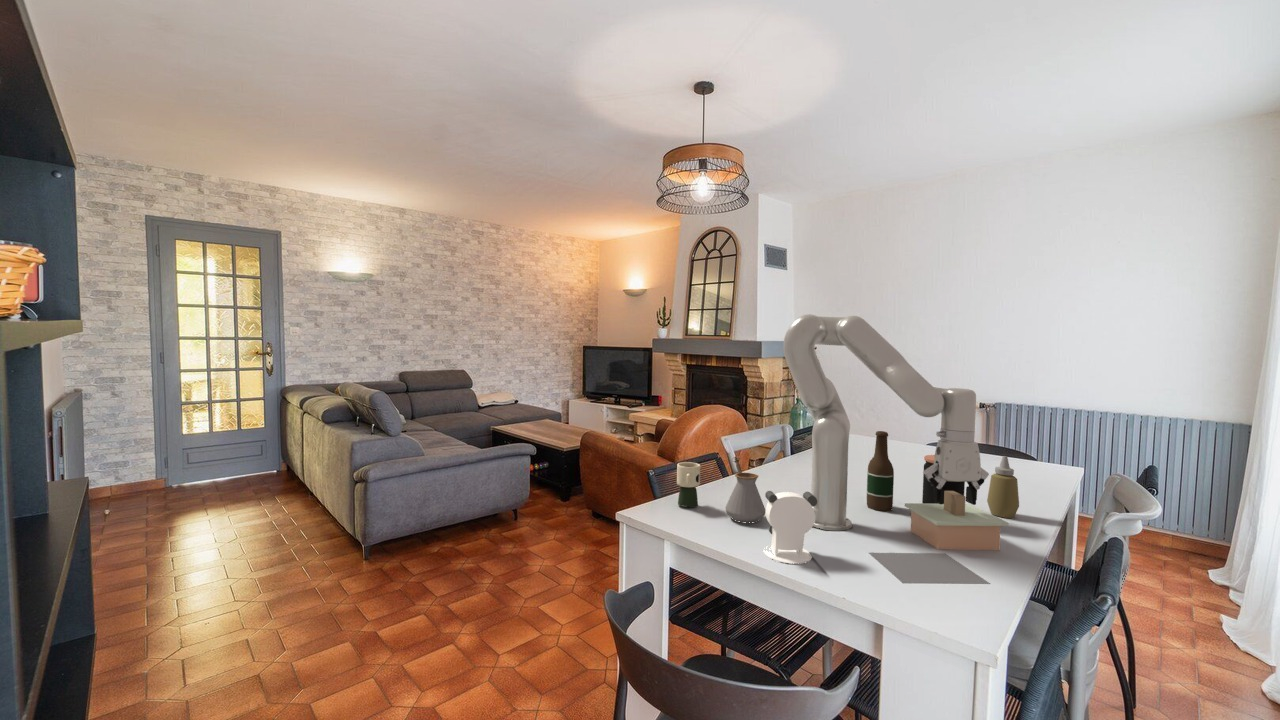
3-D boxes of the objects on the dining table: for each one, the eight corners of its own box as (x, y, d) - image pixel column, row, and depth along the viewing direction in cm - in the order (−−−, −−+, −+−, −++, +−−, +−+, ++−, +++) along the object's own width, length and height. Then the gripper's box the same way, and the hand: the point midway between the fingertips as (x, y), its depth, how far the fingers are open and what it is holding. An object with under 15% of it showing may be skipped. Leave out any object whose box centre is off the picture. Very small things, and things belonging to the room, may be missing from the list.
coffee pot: (770, 526, 147) (771, 473, 147) (729, 526, 147) (730, 472, 146) (751, 502, 168) (753, 456, 168) (716, 502, 168) (717, 455, 168)
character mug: (699, 512, 158) (700, 469, 157) (675, 511, 159) (676, 468, 158) (699, 501, 169) (700, 461, 168) (676, 500, 169) (677, 460, 169)
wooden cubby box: (937, 551, 131) (938, 523, 131) (910, 532, 144) (911, 507, 144) (999, 551, 132) (1000, 524, 132) (966, 533, 144) (967, 508, 144)
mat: (902, 585, 112) (902, 582, 112) (868, 555, 128) (868, 552, 128) (990, 586, 113) (990, 583, 113) (945, 555, 129) (945, 553, 129)
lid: (936, 525, 130) (937, 502, 130) (904, 506, 145) (905, 485, 145) (1008, 526, 130) (1009, 502, 130) (969, 506, 145) (969, 485, 145)
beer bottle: (861, 504, 169) (863, 429, 168) (884, 503, 170) (887, 429, 169) (873, 511, 162) (876, 433, 161) (898, 511, 162) (901, 434, 161)
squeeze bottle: (987, 509, 166) (989, 452, 166) (1018, 514, 161) (1021, 456, 161) (985, 515, 160) (988, 456, 159) (1018, 521, 155) (1021, 460, 154)
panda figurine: (805, 545, 134) (807, 487, 133) (821, 564, 122) (823, 500, 122) (758, 545, 133) (759, 486, 133) (770, 564, 122) (772, 500, 121)
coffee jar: (952, 514, 161) (954, 455, 160) (970, 526, 150) (973, 463, 150) (915, 512, 162) (917, 454, 161) (931, 524, 151) (933, 462, 151)
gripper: (932, 438, 133) (929, 507, 134) (1000, 439, 133) (997, 508, 134) (916, 433, 140) (913, 498, 141) (980, 434, 141) (977, 499, 141)
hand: (954, 502), depth 137 cm, fingers open, 8 cm apart
